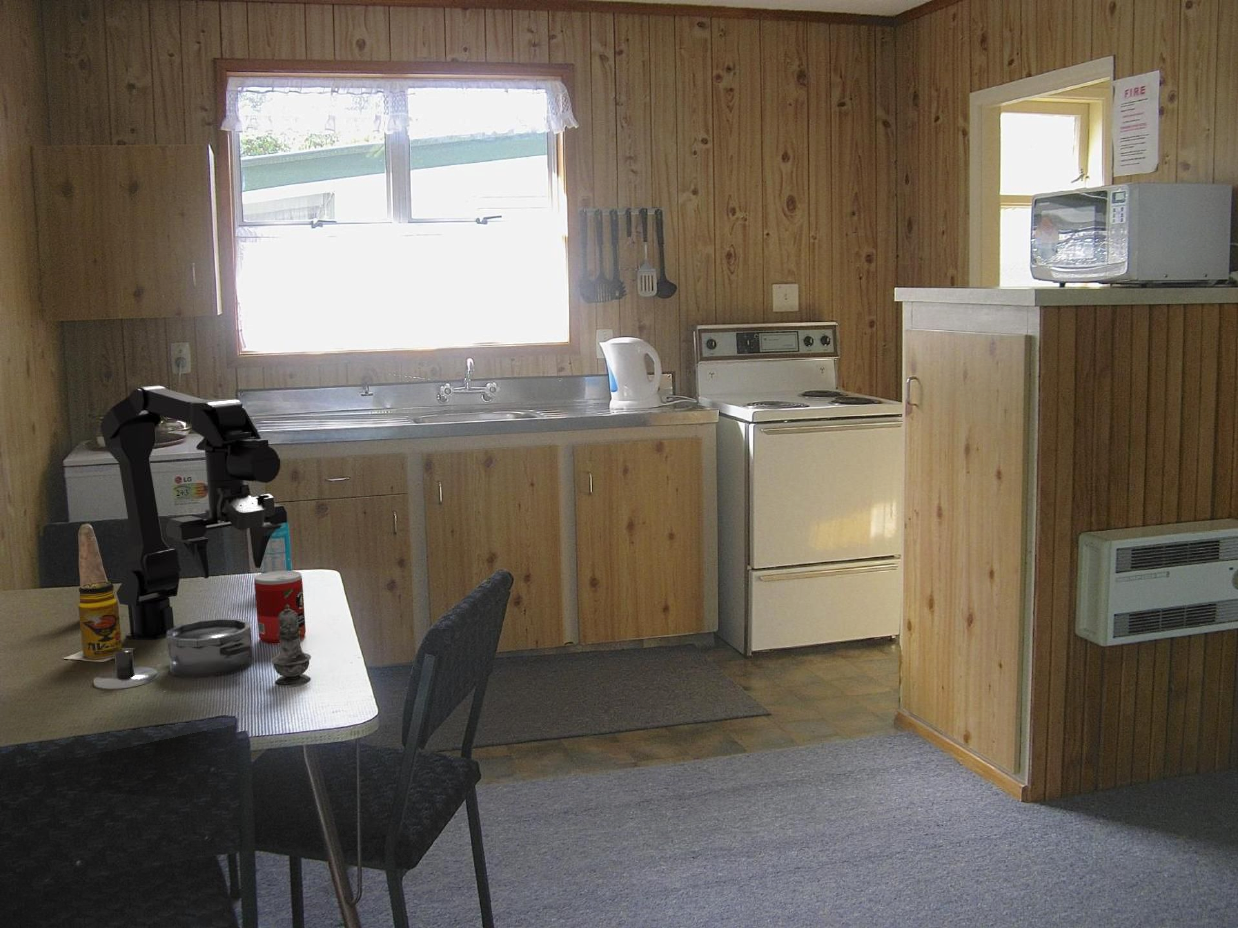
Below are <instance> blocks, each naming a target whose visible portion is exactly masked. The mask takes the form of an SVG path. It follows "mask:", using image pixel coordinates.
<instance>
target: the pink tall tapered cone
mask: <svg viewBox="0 0 1238 928" xmlns="http://www.w3.org/2000/svg"><path fill="white" fill-rule="evenodd" d="M77 534H78V570H79V571H78V573H79V585H80V586H79V588H80V587H81V586H83V585H85V584H88V583H94V582H109V581H108V579H107V575H106V572H105V569H104V566H103V560H102V557H101V553H100V549H99V548H100V547H99V544H98V540H97V537H96V534H95V531H94V528H93V526H92V525H91V524H90V523H85V524H82V525H80V527H79V530H78V533H77Z"/></svg>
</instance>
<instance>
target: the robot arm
mask: <svg viewBox="0 0 1238 928" xmlns="http://www.w3.org/2000/svg"><path fill="white" fill-rule="evenodd" d="M243 406H244V405H243V403H242V402H241V401H240V400H239V399H232V398H231V399H230V398H229V399H228V398H224V399H223V398H222V399H221V398H220V399H203V398H199V397H197V396H192V395H189V394H185V393H182V392H179V391H175V390H171V389H168V388H166V387H165V386H162V385H147V386H138V387H136V388H134V389H133V390H132V391H131V392H130V394H129V395H128V396H127V397H125V398H123V399H122V400H121V401H120V402H118V403H116V404H115V405H113V406H112V407H111V408H110V409H109V410H108V411H107V412H106V414H105V415H104V417H103V418H102V420H101V422H100V427H99V428H100V433H101V435H102V439H103V441H104V445H105V448H106V450H107V451H108V452H109V454H110V455H111V456H112V457H113V458H114V459H115V460H116V461H117V463H118V465H119V472H120V477H121V485H122V491H123V496H124V497H123V498H124V503H125V509H126V515H127V519H128V520H127V521H128V526H129V532H130V538H131V543H132V544H131V545H132V546H131V548H130V550H129V552H128V555H127V558H126V560H125V577H124V579H123V581H122V582H121V583H120V585H119V587H118V588H117V590H116V597H117V601H118V604H120V605H126V606H127V608H128V610H127V611H128V622H129V631H130V632H129V633H127V634H125V635H124V638H125V639H142V640H143V639H144V640H147V639H148V640H149V639H150V640H156V639H157V640H158V639H161V638H162V637H164V636H165V637H166V636H167V631H168V630H170V629H172V628H174V627H177V626H178V625H177V626H175V622H174V621H175V620H174V611H173V607H172V606H171V602H170V601H171V600H170V598H172V597H178V592H179V584H180V581H181V580H180V578H181V571H182V568H181V566H180V563H179V553H178V551H177V550H176V548H170V546H169V545H167V543H166V542H165V541H164V539H163V532H162V527H161V523H160V516H159V509H158V503H157V497H156V491H155V486H154V480H153V473H152V467H151V461H150V460H151V459H150V457H151V455H152V453H153V450H154V448H155V445H156V442H157V436H156V435H157V434H156V429H157V428H158V427H159V426H160V425H161V423H162V422H163V421H164V417H165V418H168V419H169V418H170V419H172V420H176V421H179V422H182V423H186V424H188V425H189V426H190V429H191V431H193V432H194V433H196V434H198V436H199V435H200V436H201V437H202V440H200V442H198V443H197V445H196V446H195V447H196V450H197V451H204V456H205V457H204V458H205V469H206V470H205V472H206V484H203V491H204V492H207V498H208V509H205V510H204V511H205V516H206V517H207V518H201V517H196V516H194V515H193V516H192V515H185V516H179V517H175V518H173V517H172V518H169V519H168V522H167V523H166V525H165V529H166V536H167V537H168V538H173V539H175V541H176V542H177V541H178V542H181V543H182V545H184V547H185V548H186V550H187V551H188V553H189V554H190V555H191V557H192V560H193V561H194V563H195V565H196V566H197V569H198V570H199V572H200V574H201V576H202V577H203V579H209V577H210V573H209V572H210V571H209V561H208V552H207V546H208V543H209V541H210V539H209V538H207V537H204V536H205V535H206V533H207V531H210V530H216V529H221V528H228V527H234V528H235V529H236V530H238V531H246V530H248V529H249V535H250V545H251V552H252V553H251V554H252V559H253V564H254V567H255V568H256V569H261V564H262V561H263V557H264V554H265V550H266V547H267V544H268V541H269V539H270V537H271V535H272V534H273V533H274V532H275V531H276V530H277V529H280V528H281V526H282V525H279V524H281V523H287V522H288V523H289V512H288V510H287V508H286V507H285V506H284V505H282V504H278V503H275V499H274V496H273V495H272V494H271V493H265V494H260V495H258V496H254V497H253V496H252V495H251V494H252V493H251V491H250V490H251V488H250V486H249V484H248V483H245V481H246V482H255V483H263V484H264V483H266V484H267V483H270V482H273V481H274V480H275V479H276V477H277V476H278V475H279V473H280V469H281V458H280V457H279V454H278V452H277V451H276V450H275V449H274V448H273V447H270V445H269V439H267V438H261V436H260V434H259V432H258V429H257V427H256V426H255V425H254V422H253V421H252V419H251V417H250V416H249V414H248V412H247V410H246V409H245V407H243Z"/></svg>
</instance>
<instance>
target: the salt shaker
mask: <svg viewBox="0 0 1238 928" xmlns="http://www.w3.org/2000/svg"><path fill="white" fill-rule="evenodd" d="M289 607H290V606H289V605H288V604H287V605H286V607H285V608H286V609H285V610H284V611H282V612H281V613H280V614H279V616H278V621H279V633H278V634H277V637H279V641H280V644H279V654H278V655H276V656H274V657H273V658H272V659H271V660H270V662H271V663H272V665H273V668H274V671H275V672H276V673H277V674H278V675H279V676H280V677H279V678H278V679H276V680H275V681H274V685H275V684H276V685H275V686H277V685H278V686H277V687H281V688H282V687H284V688H292V687H293V688H294V687H298V686H303V685H306V684H308V683H309V682H311V677H310V676H309V675H306V674H304V673H305V672H306V671H307V670H308V668H309V666H310V660H311V658H312V656H311V654H309V653H305V652H303V649H302V646H301V640H300V635H301V634H302V632H300V631H299V624H298V614H297V613H296V612H295V611H294V610H291V609H289Z"/></svg>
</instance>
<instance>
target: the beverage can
mask: <svg viewBox="0 0 1238 928" xmlns="http://www.w3.org/2000/svg"><path fill="white" fill-rule="evenodd" d="M279 525H282V526H281V528H280V529H277V530H276V531H275V532H274V533H273V534H272V535H271V537H270V539H269V541H268V544H267V547H266V550H265V554H264V557H263V561H262V564H261V567H260V572H261V573H260V574H263V573H267V572H274V571H293V568H292V567H293V566H292V565H293V564H292V553H291V551H292V550H291V539H290V538H291V537H290V525H289V521H288V522H287V523H281V524H279Z"/></svg>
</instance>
